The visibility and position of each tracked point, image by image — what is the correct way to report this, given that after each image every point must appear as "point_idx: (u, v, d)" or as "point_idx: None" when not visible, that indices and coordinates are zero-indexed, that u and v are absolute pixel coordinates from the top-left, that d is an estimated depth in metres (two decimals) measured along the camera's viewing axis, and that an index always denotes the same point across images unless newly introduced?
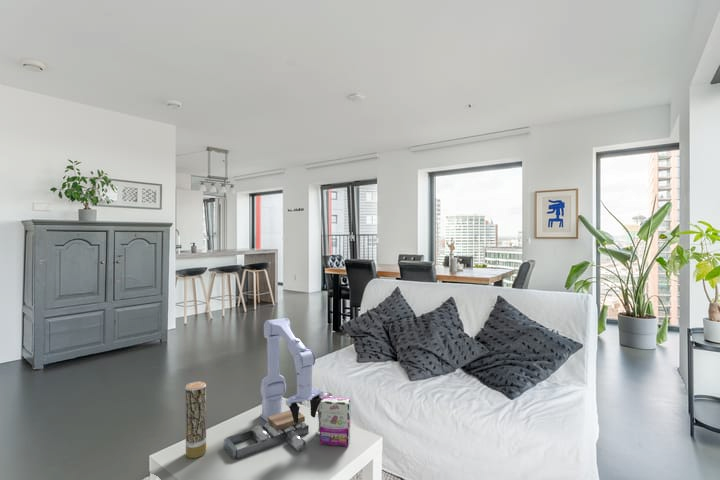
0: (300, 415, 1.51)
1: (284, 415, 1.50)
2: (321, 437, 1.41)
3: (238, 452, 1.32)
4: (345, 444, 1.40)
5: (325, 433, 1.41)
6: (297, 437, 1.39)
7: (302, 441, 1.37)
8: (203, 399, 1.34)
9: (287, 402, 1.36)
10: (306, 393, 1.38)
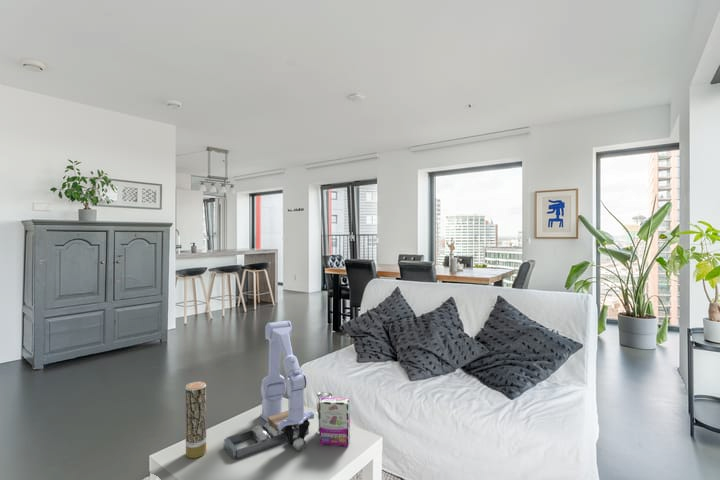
0: None
1: (284, 415, 1.50)
2: (321, 438, 1.41)
3: (238, 452, 1.32)
4: (345, 444, 1.40)
5: (325, 434, 1.41)
6: (297, 437, 1.39)
7: (302, 441, 1.37)
8: (203, 399, 1.34)
9: (278, 426, 1.35)
10: (297, 417, 1.37)
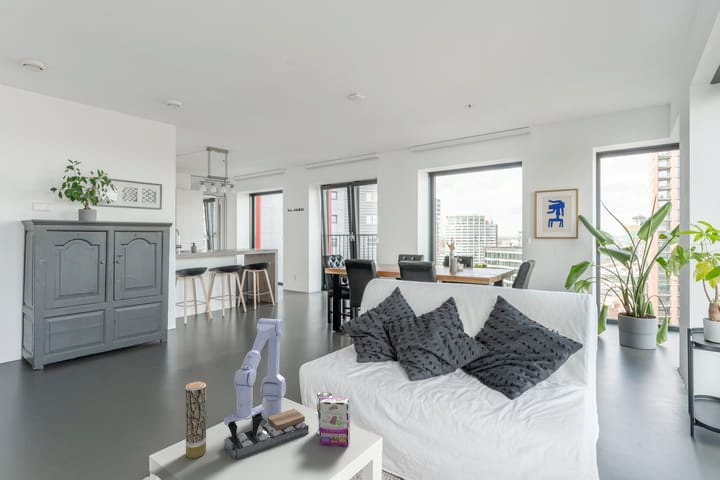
0: (300, 415, 1.51)
1: (284, 415, 1.50)
2: (321, 438, 1.41)
3: (238, 452, 1.32)
4: (345, 444, 1.40)
5: (325, 434, 1.41)
6: (245, 439, 1.38)
7: (249, 443, 1.36)
8: (203, 399, 1.34)
9: (225, 421, 1.34)
10: (245, 412, 1.36)
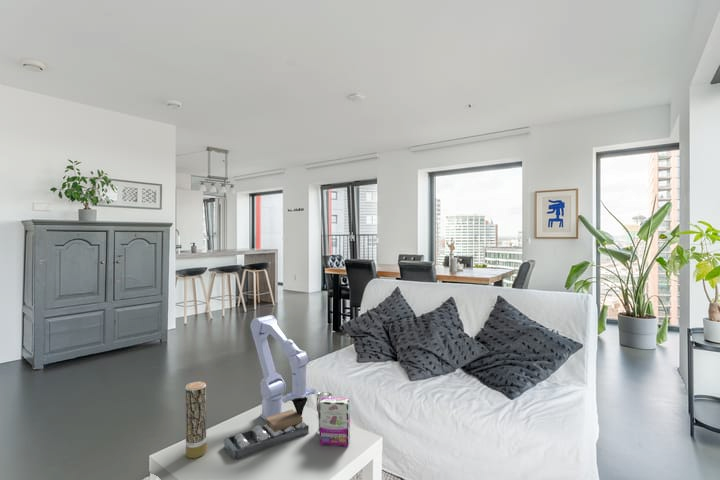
0: (298, 416, 1.50)
1: (282, 416, 1.50)
2: (321, 438, 1.41)
3: (238, 452, 1.32)
4: (345, 444, 1.40)
5: (325, 434, 1.41)
6: (239, 442, 1.37)
7: (244, 445, 1.35)
8: (203, 399, 1.34)
9: (283, 399, 1.49)
10: (300, 391, 1.51)
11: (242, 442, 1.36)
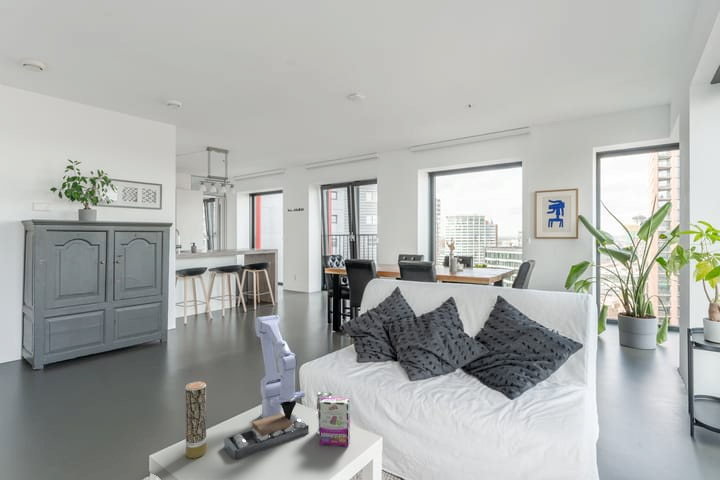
0: (286, 420, 1.47)
1: (270, 420, 1.47)
2: (321, 438, 1.41)
3: (238, 452, 1.32)
4: (345, 444, 1.40)
5: (325, 434, 1.41)
6: (237, 443, 1.36)
7: (242, 446, 1.34)
8: (203, 399, 1.34)
9: (271, 403, 1.45)
10: (289, 395, 1.47)
11: (240, 443, 1.35)
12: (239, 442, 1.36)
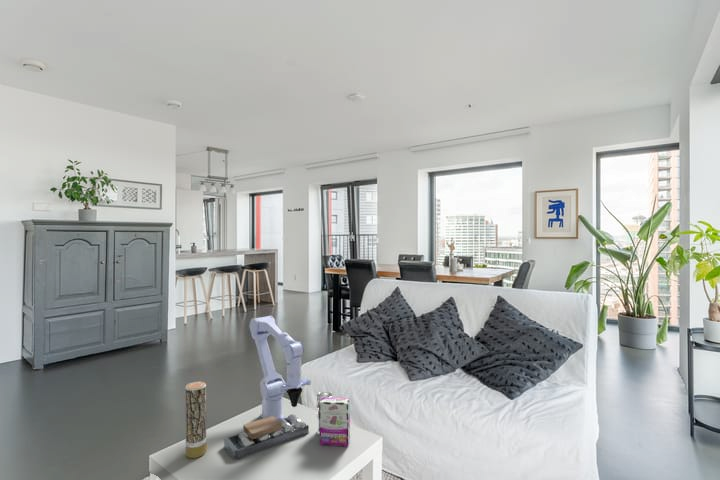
0: (277, 423, 1.45)
1: (261, 423, 1.44)
2: (321, 438, 1.41)
3: (238, 452, 1.32)
4: (345, 444, 1.40)
5: (325, 434, 1.41)
6: (248, 438, 1.38)
7: (252, 442, 1.36)
8: (203, 399, 1.34)
9: (277, 389, 1.47)
10: (295, 382, 1.49)
11: (250, 439, 1.38)
12: (249, 438, 1.39)
